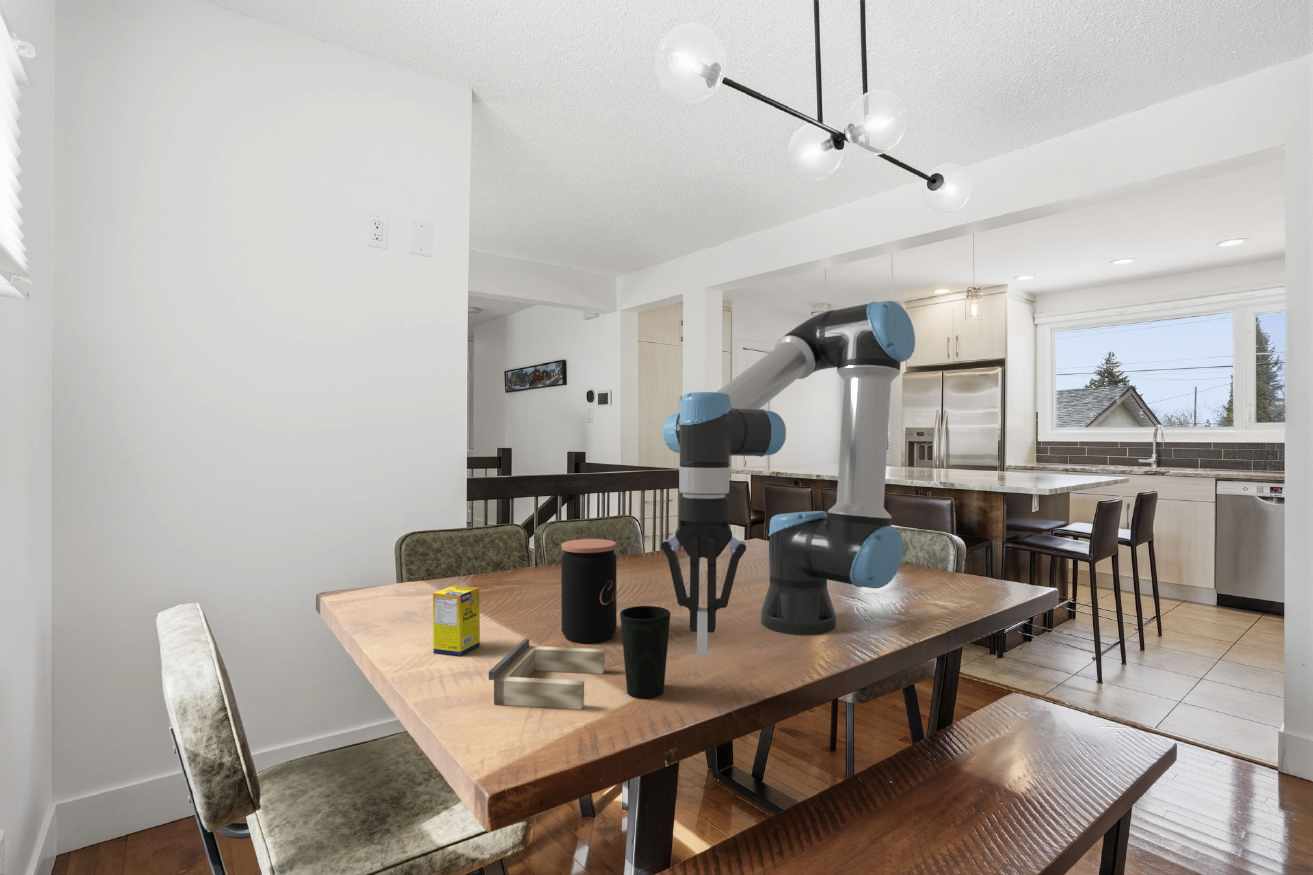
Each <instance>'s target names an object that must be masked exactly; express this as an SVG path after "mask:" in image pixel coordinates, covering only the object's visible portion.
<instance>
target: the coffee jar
mask: <svg viewBox="0 0 1313 875" xmlns="http://www.w3.org/2000/svg"><path fill="white" fill-rule="evenodd" d="M616 548H617V542H616V541H613V540H609V539H604V538H603V539H599V538H583V539H581V538H580V539H573V540H568V541H565V542H562V543H561V549H562V551H563V554H562V555H561V560H560V561H561V570H560V571H561V575H560V576H561V580H560V583H561V590H560V591H561V592H560V593H561V633H562V634H563V636H564V638H565V640H568V641H569V642H572V643H576V644H577V643H578V644H599V643H602V642H606V641H609V640H610V639H612V638H613V637H614V635H615V633H616V631H617V627H618V626H617V623H618V620H617V613H618V612H617V610H618V608H617V607H618V605H617V604H618V603H617V601H618V600H617V594H618V593H617V590H618V589H617V554H616V553H615V549H616Z"/></svg>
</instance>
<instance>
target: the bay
mask: <svg viewBox="0 0 1313 875" xmlns="http://www.w3.org/2000/svg"><path fill="white" fill-rule="evenodd" d="M605 652H606V651H605V648H583V647H562V646H561V647H560V646H559V647H558V646H543V645H541V646H539V645H530V638H524V639H522V640H521V642H519V643H518V644H517V645H516V646H515V647H513V649H511V651H509V653H507V654H506V655H505V656H503V658H502V659H501V660H500V661H499V662H498V663H496V664H495V665H494V666H493V667H492V668H491V669H490V670H489V671H488V681H493V705H497V706H499V705H500V706H512V707H513V706H514V707H515V706H516V707H533V708H548V709H549V708H551V709H567V710H583V708H584V706H585V680H577V679H576V680H574V679H559V678H558V679H555V678H541V677H540V678H538V677H535V678H534V677H530V676H531V675H532V674H533V673H534V672H536V671H539V672H540V671H541V672H557V673H577V674H579V673H580V674H581V673H582V674H596V675H597V674H598V675H599V674H600V675H602V674H604V673H605V670H606V668H605V663H606V662H605V660H606V658H605V655H606V654H605Z"/></svg>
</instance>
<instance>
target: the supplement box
mask: <svg viewBox="0 0 1313 875" xmlns="http://www.w3.org/2000/svg"><path fill="white" fill-rule="evenodd" d="M480 612H481V611H480V587H473V586H459V585H451V586H449V587H445V588H442V589H440V590H436V591H434V592H433V593H432V629H433V630H432V631H433V632H432V633H433V634H432V636H433V638H432V639H433V640H432V641H433V642H432V643H433V645H432V646H433V648H432V649H433V651H432V652H433V654H435V653H436V654H444V655H451V656H458V657H461V656H463V655H465V654H466V653H468V652H472V651H473V650H475V649H477V648H479V646H480V645H481V641H480V640H481V639H480V638H481V637H480V636H481V634H480V632H481V631H480V630H481V628H480V624H481V623H480V621H481V620H480Z"/></svg>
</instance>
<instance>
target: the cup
mask: <svg viewBox="0 0 1313 875" xmlns="http://www.w3.org/2000/svg"><path fill="white" fill-rule="evenodd" d="M619 616H620V625H621V626H620V627H621V629H620V630H621V637H622V638H621V639H622V648H623V649H622V651H623V658H624V659H623V663H624V670H625V671H624V673H625V682H626V693H627V695H629V697H632V698H634V699H639V700H640V699H641V700H648V699H649V700H651V699H652V700H653V699H656V698H659V697H661V696H662V695H664V690H665V680H666V679H665V678H666V669H667V658H668V657H667V656H668V646H669V645H668V644H669V635H670V624H671V611H670V610H669V609H667V608H666V607H665V608H664V607H661V606H656V605H655V606H654V605H637V606H630V607H626V608H624V609H622V610H621V611H620V612H619Z"/></svg>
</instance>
